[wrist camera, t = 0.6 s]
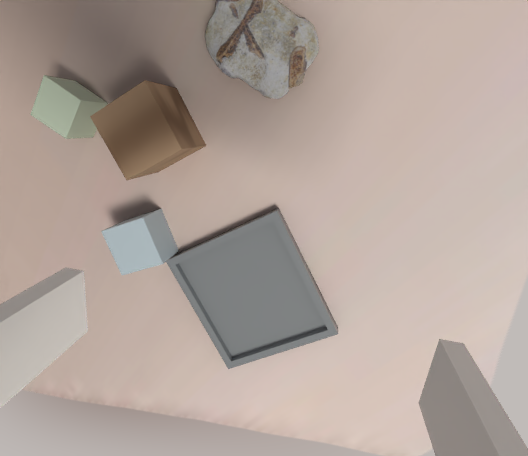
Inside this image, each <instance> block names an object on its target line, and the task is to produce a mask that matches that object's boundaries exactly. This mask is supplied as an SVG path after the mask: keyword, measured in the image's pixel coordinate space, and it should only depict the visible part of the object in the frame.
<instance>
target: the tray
mask: <svg viewBox="0 0 528 456" xmlns="http://www.w3.org/2000/svg"><path fill="white" fill-rule="evenodd" d="M166 262H167V264H168V266H169V267H170V269H171V271H172V273H173V274H174V276H175V278H176V279H177V281H178V283H179V285H180V286H181V288H182V290H183V292H184V293H185V295H186V297H187V298H188V300H189V302H190V304H191V305H192V307H193V309H194V310H195V312H196V314H197V316H198V317H199V319H200V321H201V323H202V324H203V326H204V328H205V329H206V331H207V333H208V335H209V336H210V338H211V340H212V342H213V343H214V345H215V347H216V348H217V350H218V352H219V354H220V355H221V357H222V359H223V360H224V362H225V364H226V366H227V367H228V369H230V368H233V367H236V366H239V365H243V364H246V363H249V362H252V361H255V360H258V359H261V358H265V357H268V356H271V355H274V354H277V353H280V352H283V351H287V350H290V349H293V348H296V347H299V346H302V345H305V344H308V343H312V342H315V341H318V340H321V339H324V338H327V337H330V336H334V335H337V334H338V327H337V325H336V323H335V321H334V319H333V317H332V315H331V313H330V311H329V309H328V307H327V305H326V303H325V301H324V298H323V296H322V294H321V292H320V290H319V288H318V286H317V284H316V282H315V280H314V278H313V276H312V274H311V272H310V270H309V268H308V266H307V264H306V262H305V260H304V258H303V256H302V254H301V252H300V250H299V248H298V246H297V244H296V242H295V240H294V238H293V236H292V234H291V232H290V230H289V228H288V226H287V224H286V222H285V220H284V218H283V216H282V214H281V212H280V210H279V208H277V209H275V210H273V211H271V212H269V213H266V214H264V215H262V216H260V217H258V218H255V219H253V220H251V221H249V222H247V223H244V224H242V225H240V226H238V227H236V228H233V229H231V230H229V231H227V232H225V233H223V234H220V235H218V236H216V237H214V238H212V239H209V240H207V241H205V242H203V243H201V244H198V245H196V246H194V247H192V248H190V249H187V250H185V251H183V252H181V253H179V254H177V255H174V256H172V257H171V258H169V259H168V260H167V261H166Z"/></svg>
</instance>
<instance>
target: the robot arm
mask: <svg viewBox="0 0 528 456" xmlns="http://www.w3.org/2000/svg"><path fill="white" fill-rule="evenodd" d="M86 332H88V324H87V310H86V296H85V281H84V271H82V270H77V269H71V268H64V269H62V270H61V271H59V272H57V273H55V274H53V275H52V276H50V277H48V278H46V279H45V280H43V281H41V282H39V283H37V284H36V285H34V286H32V287H30V288H29V289H27V290H25V291H23V292H21V293H20V294H18V295H16V296H14V297H13V298H11V299H9V300H7V301H6V302H4V303H2V304H0V408H1V407H2V406H3V405H5V404H6V403H7V402H8V401H9V400H10V399H11V398H13V397H14V396H15V395H16V394H17V393H18V392H19V391H21V390H22V389H23V388H24V387H25V386H26V385H27V384H28V383H30V382H31V381H32V380H33V379H34V378H35V377H36V376H38V375H39V374H40V373H41V372H42V371H43V370H44V369H45V368H47V367H48V366H49V365H50V364H51V363H52V362H53V361H55V360H56V359H57V358H58V357H59V356H60V355H61V354H63V353H64V352H65V351H66V350H67V349H68V348H69V347H70V346H72V345H73V344H74V343H75V342H76V341H77V340H78V339H80V338H81V337H82V336H83V335H84V334H85V333H86ZM419 406H420V409H421V412H422V415H423V418H424V421H425V424H426V427H427V430H428V433H429V437H430V440H431V443H432V446H433V449H434V452H435V455H436V456H528V448H527V447H526V445H525V443H524V442H523V440H522V438H521V437H520V435H519V434H518V432H517V431H516V429H515V427H514V425H513V424H512V422H511V420H510V419H509V417H508V415H507V414H506V412H505V411H504V409H503V408H502V406H501V404H500V402H499V401H498V399H497V397H496V396H495V394H494V393H493V391H492V389H491V388H490V386H489V384H488V383H487V381H486V379H485V378H484V376H483V375H482V373H481V371H480V370H479V368H478V366H477V365H476V363H475V361H474V360H473V358H472V356H471V355H470V353H469V352H468V350H467V348H466V347H465V345H464V344H463V343H458V342H452V341H447V340H442V339H439V342H438V345H437V348H436V351H435V354H434V357H433V360H432V363H431V367H430V370H429V373H428V376H427V379H426V382H425V385H424V388H423V391H422V394H421V397H420V400H419Z"/></svg>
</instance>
